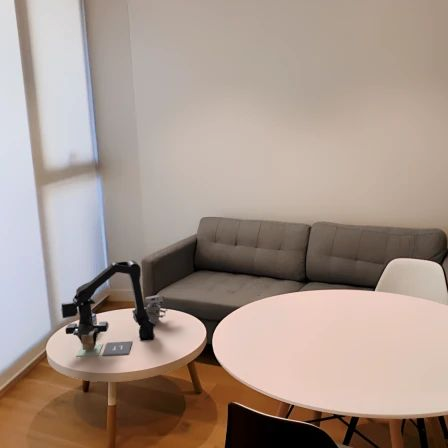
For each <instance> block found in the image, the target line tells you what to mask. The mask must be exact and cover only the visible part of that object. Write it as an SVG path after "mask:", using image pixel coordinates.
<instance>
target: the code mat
mask: <svg viewBox="0 0 448 448" xmlns="http://www.w3.org/2000/svg"><path fill="white" fill-rule="evenodd" d="M132 344H133V341H132V340H129V341H114V342H113V341H112V342H106V345H105V347H104V349H103V352H102V354H101V356H102V357H107V356H110V357H111V356H122V355H123V356H127V355H128V356H129V354H130V351H131V347H132Z"/></svg>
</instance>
